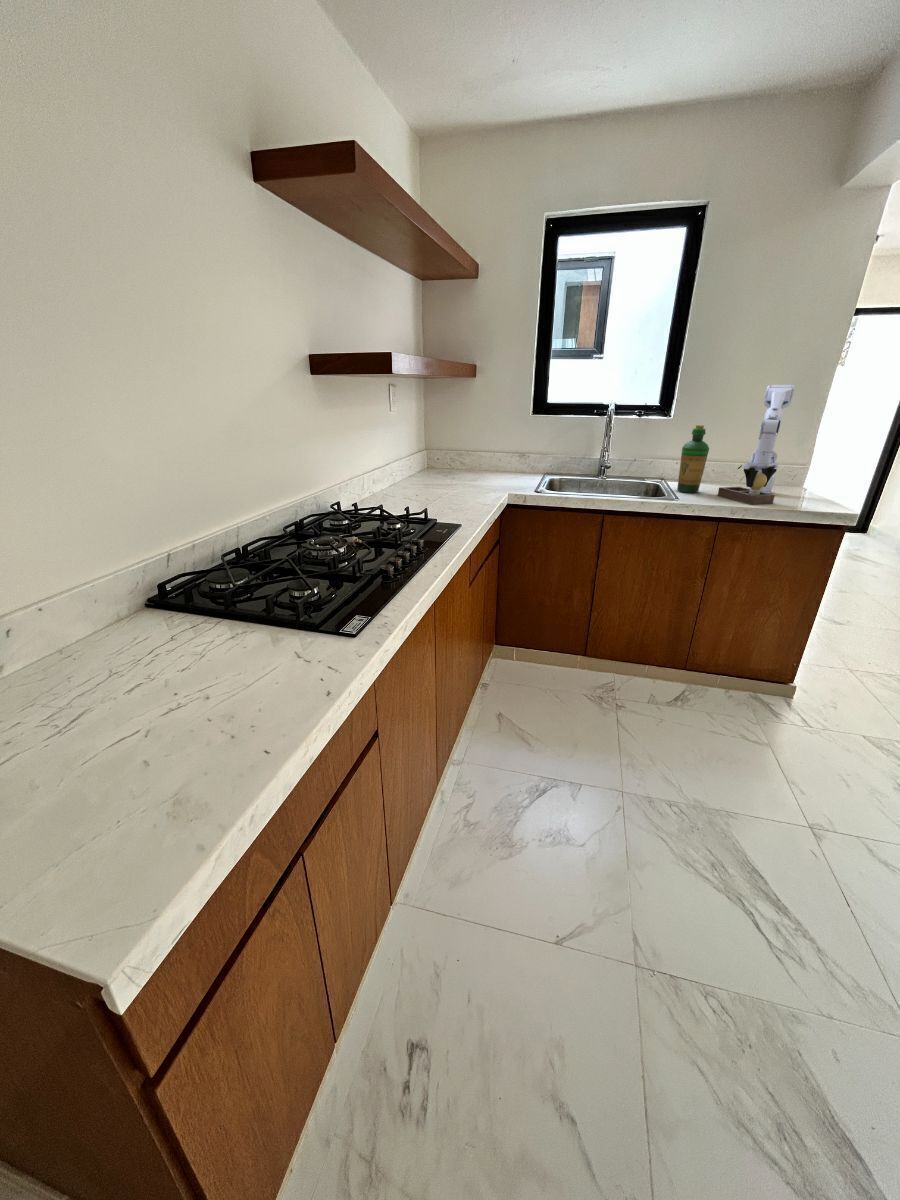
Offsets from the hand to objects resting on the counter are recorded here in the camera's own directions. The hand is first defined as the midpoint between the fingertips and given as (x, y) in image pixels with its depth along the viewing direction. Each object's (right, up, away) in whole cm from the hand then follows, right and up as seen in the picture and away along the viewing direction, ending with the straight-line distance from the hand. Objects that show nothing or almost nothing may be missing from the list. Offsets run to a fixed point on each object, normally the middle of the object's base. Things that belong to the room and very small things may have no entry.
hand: (755, 486), depth 201 cm
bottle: (-17, +3, +22) cm, 28 cm away
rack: (-1, -4, +6) cm, 7 cm away
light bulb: (0, -4, +2) cm, 5 cm away
